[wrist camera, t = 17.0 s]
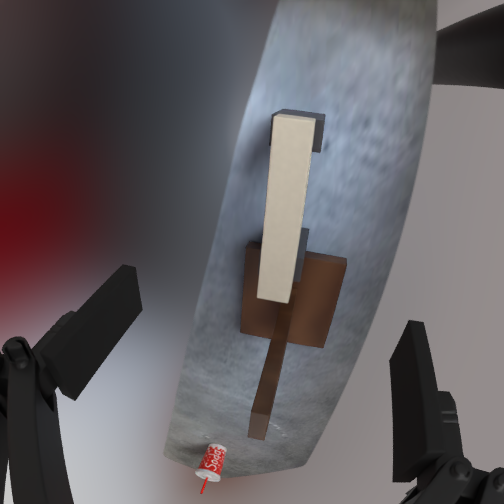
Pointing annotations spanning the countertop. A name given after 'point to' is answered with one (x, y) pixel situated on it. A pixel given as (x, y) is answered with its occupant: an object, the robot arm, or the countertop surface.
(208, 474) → the beverage cup
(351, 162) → the countertop surface
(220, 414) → the countertop surface
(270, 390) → the headphone stand
